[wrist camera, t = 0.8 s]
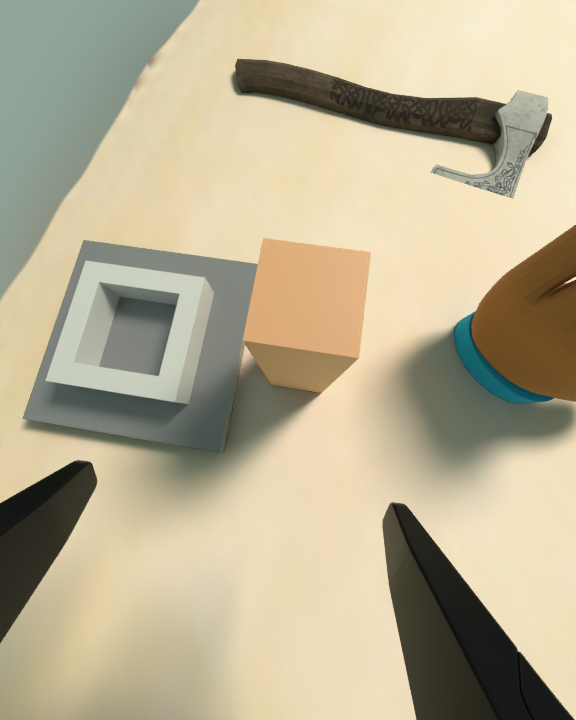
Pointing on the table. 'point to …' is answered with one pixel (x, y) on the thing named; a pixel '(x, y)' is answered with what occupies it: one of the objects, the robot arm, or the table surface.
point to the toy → (527, 329)
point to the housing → (146, 346)
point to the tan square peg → (306, 313)
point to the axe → (418, 115)
